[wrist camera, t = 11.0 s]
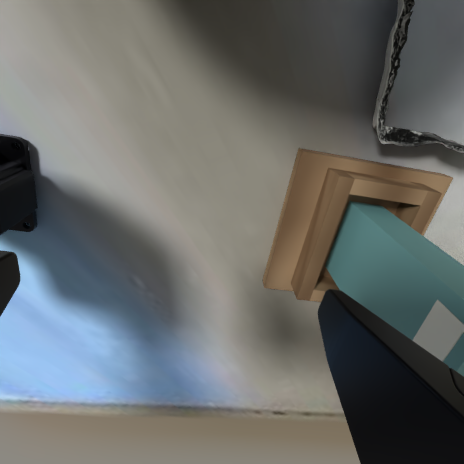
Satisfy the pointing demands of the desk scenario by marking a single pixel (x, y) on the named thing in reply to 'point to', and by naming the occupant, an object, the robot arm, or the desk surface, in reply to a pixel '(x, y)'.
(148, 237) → the desk surface
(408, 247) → the teal labeled box
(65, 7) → the desk surface
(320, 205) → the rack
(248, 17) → the desk surface
